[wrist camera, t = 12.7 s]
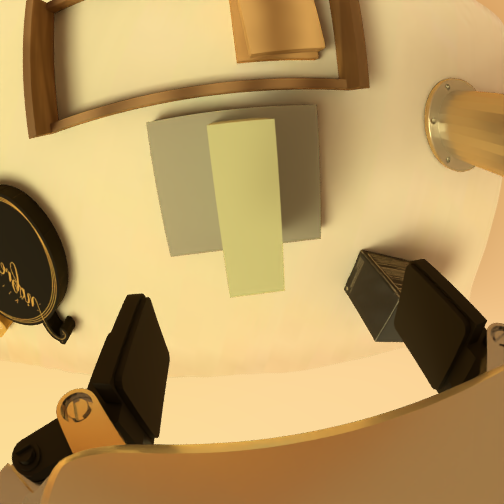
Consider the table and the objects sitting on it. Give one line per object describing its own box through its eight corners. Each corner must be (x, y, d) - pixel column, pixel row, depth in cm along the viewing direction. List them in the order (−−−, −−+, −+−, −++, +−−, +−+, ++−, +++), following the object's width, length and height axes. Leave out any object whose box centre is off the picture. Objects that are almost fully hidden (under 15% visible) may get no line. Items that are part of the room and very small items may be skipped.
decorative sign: (-70, 248, 25) (-26, 133, 20) (-60, 239, 28) (-11, 130, 23) (33, 369, 37) (111, 307, 32) (40, 357, 40) (118, 292, 35)
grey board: (309, 105, 27) (316, 104, 25) (314, 229, 33) (320, 238, 31) (152, 121, 26) (146, 122, 24) (174, 246, 33) (170, 256, 30)
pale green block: (256, 117, 25) (274, 118, 16) (265, 236, 31) (284, 290, 22) (212, 122, 25) (206, 125, 16) (227, 241, 30) (230, 297, 21)
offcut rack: (330, -35, 19) (346, -52, 15) (348, 90, 27) (369, 87, 22) (47, 10, 18) (26, 0, 13) (53, 133, 25) (29, 138, 21)
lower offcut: (301, -16, 21) (305, -22, 19) (312, 61, 26) (318, 57, 24) (226, -14, 21) (227, -21, 19) (236, 64, 25) (237, 61, 24)
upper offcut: (300, -21, 19) (305, -28, 18) (319, 51, 23) (325, 47, 22) (232, -16, 19) (233, -24, 18) (249, 58, 23) (251, 54, 22)
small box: (341, 291, 38) (372, 344, 29) (359, 248, 35) (400, 294, 26) (399, 299, 40) (434, 345, 31) (418, 261, 37) (460, 303, 28)
